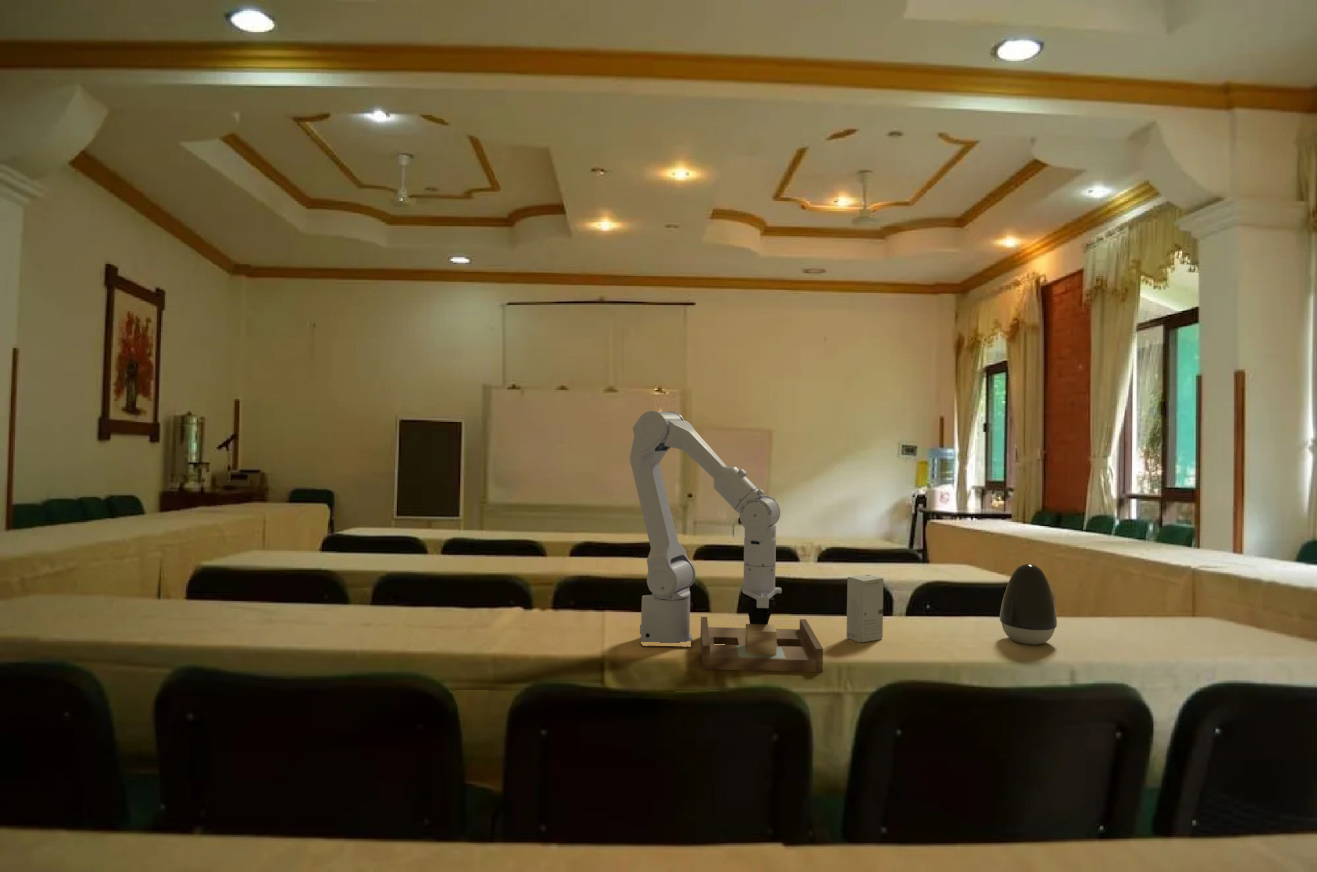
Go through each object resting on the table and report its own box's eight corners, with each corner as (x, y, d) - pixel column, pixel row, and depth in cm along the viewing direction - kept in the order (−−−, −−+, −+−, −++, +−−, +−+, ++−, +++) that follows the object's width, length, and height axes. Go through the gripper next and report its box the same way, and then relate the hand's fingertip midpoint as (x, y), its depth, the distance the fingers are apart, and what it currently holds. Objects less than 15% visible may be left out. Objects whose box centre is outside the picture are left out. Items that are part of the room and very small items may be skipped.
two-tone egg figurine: (1055, 637, 162) (1057, 562, 162) (1056, 651, 153) (1059, 570, 152) (1000, 631, 167) (1002, 557, 166) (998, 644, 157) (1000, 565, 157)
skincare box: (862, 643, 156) (863, 580, 156) (844, 638, 160) (846, 576, 160) (884, 639, 160) (885, 577, 159) (866, 633, 163) (867, 573, 163)
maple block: (747, 654, 141) (747, 631, 141) (745, 646, 146) (745, 623, 146) (776, 654, 141) (776, 631, 141) (773, 646, 146) (773, 624, 146)
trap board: (702, 668, 139) (702, 645, 139) (700, 637, 159) (700, 616, 159) (822, 672, 138) (823, 648, 138) (805, 639, 158) (805, 619, 158)
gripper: (786, 572, 140) (785, 650, 140) (777, 557, 154) (775, 628, 155) (745, 571, 140) (744, 649, 140) (739, 556, 155) (738, 627, 155)
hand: (758, 638), depth 148 cm, fingers closed
